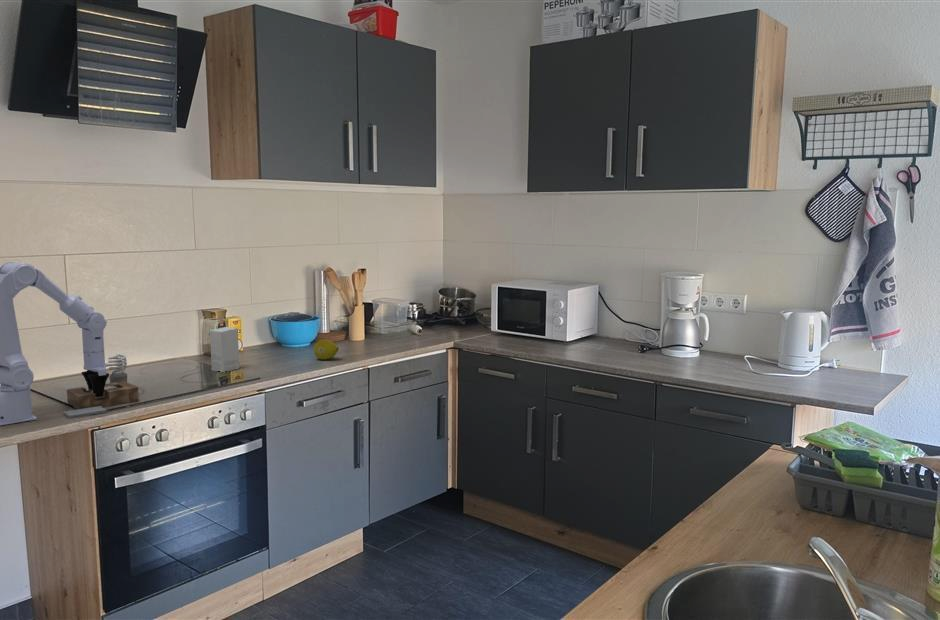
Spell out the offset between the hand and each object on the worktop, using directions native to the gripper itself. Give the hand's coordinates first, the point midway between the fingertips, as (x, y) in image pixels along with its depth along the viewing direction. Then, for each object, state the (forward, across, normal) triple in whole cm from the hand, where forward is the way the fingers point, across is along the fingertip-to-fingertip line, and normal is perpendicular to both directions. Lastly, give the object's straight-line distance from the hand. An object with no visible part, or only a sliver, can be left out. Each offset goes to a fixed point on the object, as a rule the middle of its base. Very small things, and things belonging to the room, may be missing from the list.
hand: (96, 395), depth 228 cm
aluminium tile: (+1, 0, -2) cm, 2 cm away
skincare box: (+3, +20, -51) cm, 55 cm away
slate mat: (+3, -10, +6) cm, 12 cm away
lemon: (+3, +12, -89) cm, 90 cm away
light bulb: (+3, +14, -11) cm, 18 cm away
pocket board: (+3, 0, -2) cm, 3 cm away
